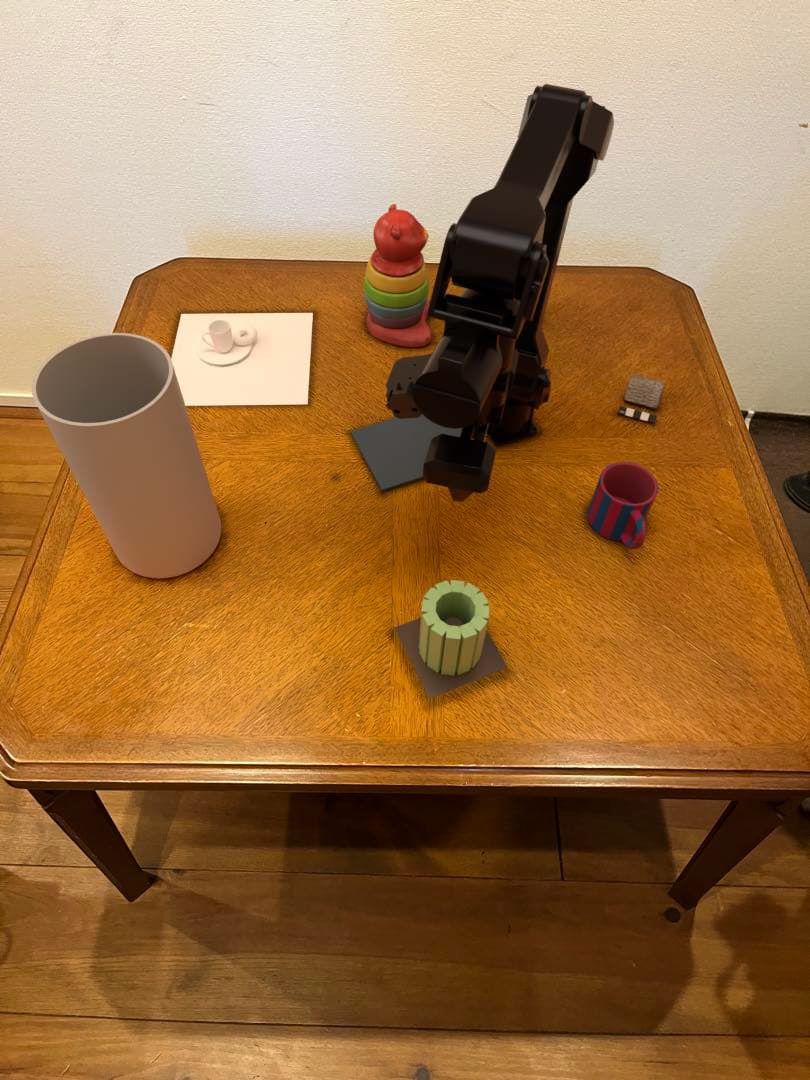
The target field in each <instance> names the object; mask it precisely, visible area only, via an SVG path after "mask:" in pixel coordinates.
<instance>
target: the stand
mask: <svg viewBox="0 0 810 1080" xmlns="http://www.w3.org/2000/svg"><path fill="white" fill-rule="evenodd" d="M420 623H421V617H419V618H416V619H413V620H410V621H408V622H405V623H402V624H400V625H398V626H395V627H394V629H395V631H396V633H397V635H398V638H399V640H400V641H401V644H402V646H403V648H404V650H405V652H406V654H407V656H408V659H409V660H410V662H411V664H412V666H413V668H414V670H415V672H416V674H417V677H418V679H419V680H420V683H421V685H422V687H423V688H424V690H425V693H426V695H427V697H428V699H429V700H431V699H434V698H437V697H439V696H441V695H443V694H445V693H448V692H451V691H454V690H455V689H458V688H461V687H463V686H466V685H468V684H470V683H472V682H475V681H478V680H480V679H483V678H485V677H488V676H490V675H492V674H494V673H497V672H500V671H502V670H504V669H507V668H508V666H507V664H506V662H505V661H504V658H503V657H502V655H501V653H500V652H499V650H498V648H497V646H496V644H495V643H494V641H493V639H492V638H491V636H490V634H489V632H488V630H486V635H485V639H484V644H483V648H482V653H481V656H480V659H479V661H478V662H477V663H476V665H475V666H474V667H473V668H471V667H470V671H467V672H465V673H462V674H460V675H458V674H457V673H456V671H455V675H454V676H453V675H444V674H441V670H442V668H441V670H440V671H439V672H438V673H437V672H436V671H434V670H433V669H431V668H430V667H428V666H427V663H428V662H426V663H424V661H423V659H422V657H421V655H420V649H419V637H420ZM444 623H446V624H448V625H451V626H462V625H464V624H463V622H462V621H461V620H460V619H458V618H456V617H449V618H447V619H446V620H444Z"/></svg>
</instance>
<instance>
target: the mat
mask: <svg viewBox="0 0 810 1080" xmlns="http://www.w3.org/2000/svg"><path fill="white" fill-rule="evenodd" d="M461 431H462V428H458V429H452V428H445V427H442V426H439V425H437V424H435V423H433V422H431V421H430V420H429V419H427V418H426V417H425V416H424V415H423V414H422V415H421V416H420V417H418V418H407V419H399V418H397V417H392V418H389V419H386V420H382V421H379V422H376V423H373V424H369V425H366V426H363V427H360V428H355V429H353V430H350V431H349V433H350V436H351V438H352V440H353V442H354V443H355V445H356V447H357V449H358V450H359V452H360V454H361V456H362V458H363V460H364V462H365V463H366V466H367V467H368V469H369V471H370V473H371V475H372V477H373V478H374V480H375V482H376V484H377V485H378V487H379V489H380V491H381V493H386V492H388V491H391V490H394V489H398V488H400V487H403V486H407V485H410V484H413V483H416V482H420V481H422V480H424V478H423V464H424V461H425V458H426V454H427V451H428V448H429V445H430V442H431V439H432V438H434V437H436V436H438V435H440V434H446V435H451V436H456V437H460V435H461Z"/></svg>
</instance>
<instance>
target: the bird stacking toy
mask: <svg viewBox="0 0 810 1080" xmlns="http://www.w3.org/2000/svg"><path fill="white" fill-rule="evenodd" d="M428 240H429V233H428V231H427V229H426V228H425V226H423V224H422V223H420V221H419V220H417V219H416V217H415V216H414V215H413V214H412V212H410V211H408V210H404V209H397V204H396V203H392V204H391V205H390V206H389V207H388V210H387V212H385V213H383V214H382V215H381V216H379V218H377V220H376V222H375V224H374V227H373V241H374V246H375V249H374V251H373V252H372V254H371V255H370V257H369V259H368V261H367V265H366V268H365V273H364V278H363V279H364V280H363V294H364V299H365V304H366V307H367V310H368V312H367V316H366V321H365V322H366V324H365V325H366V328H367V331H368V332H369V333H370V334H371V335H372V336H373V337H374V338H376V339H378V340H380V341H383V342H384V343H387V344H391V345H394V346H398V347H405V348H406V347H407V348H422V347H426V346H427V345H428V344H430V343H431V342H432V338H433V334H432V330H431V328H430V326H429V325H428V324H427V321H426V320H427V319H428V318H429V317H428V316H427V313H428V309H429V305H430V301H429V300H428V297H429V291H430V289H429V287H430V283H429V276H428V272H427V266H426V263H425V258H424V255H423V253H422V251H423V250H424V248H425V247H426V245H427V243H428Z"/></svg>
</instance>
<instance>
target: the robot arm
mask: <svg viewBox="0 0 810 1080" xmlns="http://www.w3.org/2000/svg"><path fill="white" fill-rule="evenodd" d="M614 127H615V120H614V113H613V111H611V110H609V109H608V108H606V106H605V105H600V104H599V103H597V102H595V101H594V100H593V96H592V95H590V94H589V95H588V94H587V92H586V91H585V90H581V89H576V88H571V87H565V86H560V85H554V84H549V83H544V84H543V85H542V86H541V85H536V86H535V88H534V90H533V91H532V94H529V95H528V96H527V98H526V102H525V106H524V109H523V113H522V118H521V122H520V125H519V129H518V134H517V139H516V141H515V142H514V145H513V147H512V150H511V152H510V154H509V156H508V159H507V160H506V163H505V165H504V166H503V169H502V171H501V173H500V175H499V177H498V179H497V181H496V183H495V185H494V186H493V188H490V189H489V190H486V191H484V192H482V193H480V194H478V195H475V196H474V197H472V198H471V199H470V200H469V203H467V205H466V206H465V208H464V210H463V212H462V213H461V214H460V216H459V218H458V220H457V222H456V223H455V222H453V223H452V224H451V225H450V226H449V228H448V230H447V233H446V236H445V239H444V243H443V247H442V250H441V255H440V260H439V263H438V268H437V272H436V276H435V280H434V284H433V289H432V292H431V297H430V301H429V302H430V305H429V309H428V313H427V316H428V318H430V319H431V318H432V319H436V320H440V321H443V322H444V326H443V333H442V335H441V337H440V338H439V340H438V342H437V343H436V346H435V347H434V349H433V351H432V352H431V353H430V354H421V355H413V356H405V357H401V358H398V359H397V360H396V361H394V363H393V365H392V368H391V370H390V373H389V375H388V378H387V381H386V383H385V388H386V393H385V396H386V404H385V408H386V409H388V410H390V411H391V413H392V415H393V416H394V418H396V417H397V418H399V419H407V418H418V417H420V416H421V415H422V414H423V415H424V416H425V417H426V418H427V419H429V420H430V421H431V422H433V423H435V424H437V425H439V426H442V427H445V428H452V429H458V428H462V431H461V435H460V437H456V436H451V435H446V434H440V435H438V436H436V437H434V438H432V439H431V442H430V445H429V448H428V451H427V454H426V458H425V461H424V464H423V478H424V479H423V480H424V481H425V482H426V484H430V485H434V486H435V485H436V486H440V487H445V488H447V490H448V491H449V495H450V497H451V500H452V501H453V502H458V503H463V502H465V501H466V500H467V499H468V498H470V496H471V495H473V494H474V493H475V494H479V495H481V494H483V493H486V492H488V491H489V486H490V483H491V479H492V475H493V470H494V466H495V460H496V455H497V450H496V449H495V448H494V447H493V446H492V445H491V443H489V442H487V441H486V436H488V438H489V439H490V441H491V442H492V443H493V445H494V446H496V447H499V446H503V445H506V444H509V443H512V442H515V441H519V440H521V439H525V438H528V437H531V436H534V435H537V434H538V431H539V429H538V427H537V426H536V424H535V422H533V420H534V415H535V411H539V410H540V407H542V405H543V404H545V403H549V400H550V395H551V392H552V382H551V381H552V380H551V377H552V371H551V369H550V368H547V367H546V365H547V360H548V356H549V352H550V348H549V345H548V343H547V340H546V337H545V334H544V330H543V328H542V327H543V323H544V318H545V314H546V311H547V306H548V302H549V298H550V295H551V290H552V285H553V281H554V278H555V273H556V270H557V266H558V262H559V259H560V253H561V249H562V246H563V241H564V238H565V235H566V234H565V233H566V231H567V230H566V229H567V225H568V222H569V218H570V213H571V209H572V206H573V201H574V198H575V196H576V195H577V194H578V193H579V192H580V190H582V188H583V187H584V186H585V185H586V183H588V182H589V180H590V179H591V178H592V177H593V176H594V175H595V173H596V171H597V168H598V163H599V161H602V162H603V161H604V160H605V158H606V156H607V153H608V149H609V146H610V142H611V138H612V135H613V132H614ZM450 282H451V283H452V286H454V287H458V288H462V289H464V290H463V292H461V294H460V295H456V294H452V293H447V291H448V287H449V285H450Z"/></svg>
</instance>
